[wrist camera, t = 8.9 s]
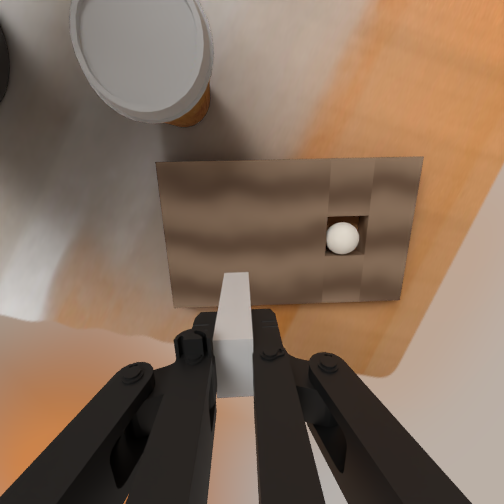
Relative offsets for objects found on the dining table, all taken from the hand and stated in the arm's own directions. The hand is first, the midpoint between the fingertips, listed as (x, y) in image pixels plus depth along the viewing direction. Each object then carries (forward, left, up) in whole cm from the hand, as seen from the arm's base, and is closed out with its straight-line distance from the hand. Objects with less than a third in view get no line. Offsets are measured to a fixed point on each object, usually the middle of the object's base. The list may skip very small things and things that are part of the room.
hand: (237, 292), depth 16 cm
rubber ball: (+1, +13, -15) cm, 20 cm away
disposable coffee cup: (-16, -6, -18) cm, 24 cm away
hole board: (0, +6, -17) cm, 18 cm away
